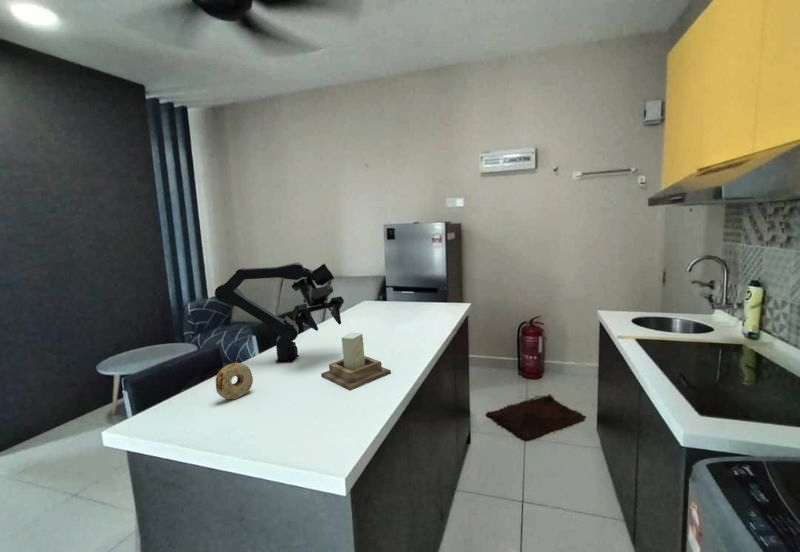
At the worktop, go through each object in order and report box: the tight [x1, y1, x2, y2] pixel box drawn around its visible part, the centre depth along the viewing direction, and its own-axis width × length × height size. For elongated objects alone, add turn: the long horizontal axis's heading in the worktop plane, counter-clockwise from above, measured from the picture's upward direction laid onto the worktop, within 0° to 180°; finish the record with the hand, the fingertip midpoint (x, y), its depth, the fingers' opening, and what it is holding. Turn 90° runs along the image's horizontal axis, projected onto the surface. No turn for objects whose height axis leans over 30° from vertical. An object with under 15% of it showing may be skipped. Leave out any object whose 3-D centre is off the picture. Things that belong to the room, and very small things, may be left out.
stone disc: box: [215, 362, 254, 400], centre depth 112 cm, size 10×4×10 cm, turn 139°
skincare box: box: [341, 332, 365, 371], centre depth 122 cm, size 6×4×12 cm
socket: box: [320, 355, 392, 391], centre depth 123 cm, size 16×16×4 cm
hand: (329, 326), depth 132 cm, fingers open, 9 cm apart
